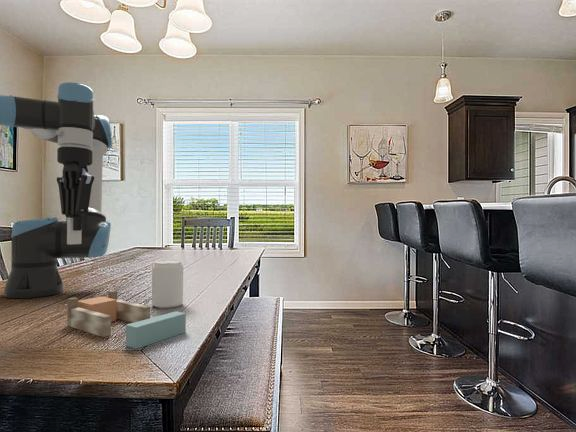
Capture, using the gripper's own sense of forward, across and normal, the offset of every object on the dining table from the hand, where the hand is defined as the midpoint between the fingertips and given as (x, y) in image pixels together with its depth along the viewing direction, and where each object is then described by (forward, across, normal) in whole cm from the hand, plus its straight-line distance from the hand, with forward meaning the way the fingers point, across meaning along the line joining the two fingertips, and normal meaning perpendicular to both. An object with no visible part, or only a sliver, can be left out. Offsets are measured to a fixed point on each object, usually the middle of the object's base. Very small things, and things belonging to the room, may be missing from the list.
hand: (74, 243), depth 91 cm
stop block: (+18, +31, 0) cm, 36 cm away
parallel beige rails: (+18, +15, 0) cm, 23 cm away
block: (+18, +10, 0) cm, 20 cm away
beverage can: (+18, +11, +19) cm, 28 cm away
